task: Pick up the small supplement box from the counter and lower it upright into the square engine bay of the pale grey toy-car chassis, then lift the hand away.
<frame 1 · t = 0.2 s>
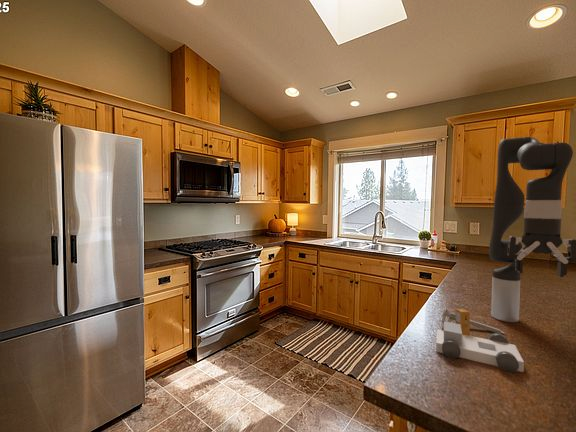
hand: (539, 274, 76), 29 cm above the countertop, tool pointing down, fingers open, 8 cm apart
supplement box: (462, 338, 98), on the countertop
chassis: (475, 352, 88), on the countertop
caliper: (472, 329, 106), on the countertop
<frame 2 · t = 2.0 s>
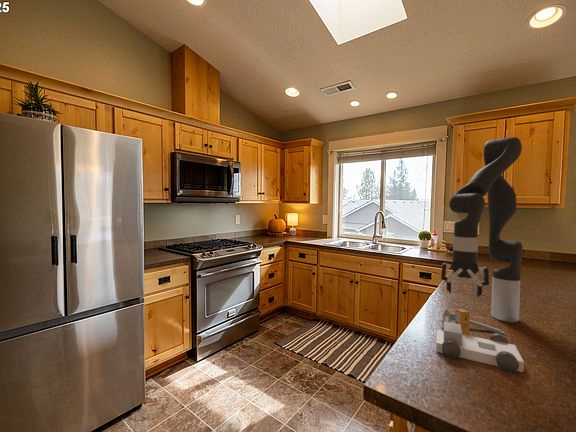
hand: (463, 294, 97), 16 cm above the countertop, tool pointing down, fingers open, 8 cm apart
nothing on the countertop moved.
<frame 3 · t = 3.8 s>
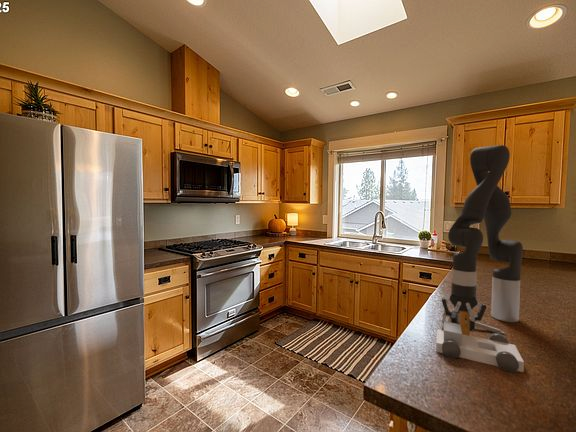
hand: (462, 328, 98), 3 cm above the countertop, tool pointing down, fingers closed on supplement box, 4 cm apart
supplement box: (462, 338, 98), on the countertop, touching gripper
everything else where it was.
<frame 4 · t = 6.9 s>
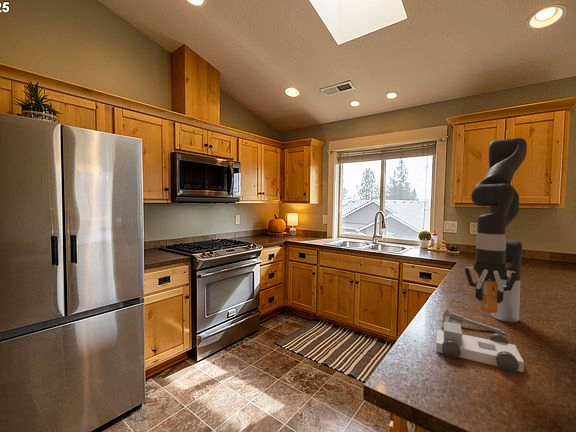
hand: (488, 300, 86), 18 cm above the countertop, tool pointing down, fingers closed on supplement box, 4 cm apart
supplement box: (488, 311, 86), point 14 cm above the countertop, touching gripper
everything else where it was.
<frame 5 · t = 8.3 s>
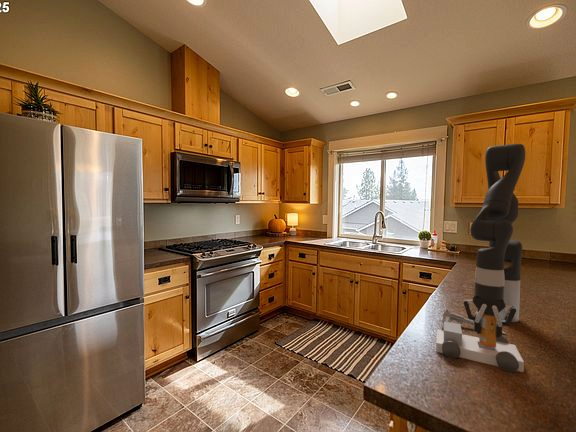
hand: (487, 334, 86), 7 cm above the countertop, tool pointing down, fingers closed on supplement box, 4 cm apart
supplement box: (486, 345, 86), point 3 cm above the countertop, touching gripper
everything else where it was.
when the fingers open (4 cm above the countertop, at t = 9.6 s): supplement box stays where it is, resting in chassis.
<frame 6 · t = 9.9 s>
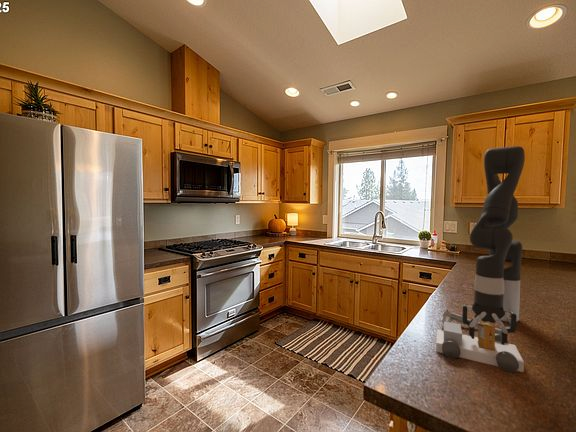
hand: (487, 340, 86), 5 cm above the countertop, tool pointing down, fingers open, 7 cm apart
supplement box: (485, 355, 87), resting in chassis
everything else where it was.
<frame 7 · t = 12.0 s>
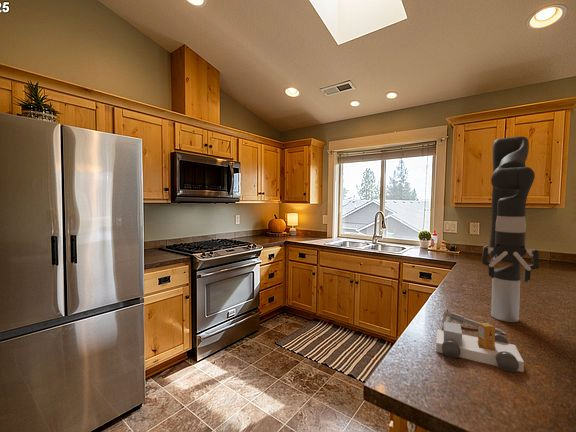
hand: (508, 279, 88), 24 cm above the countertop, tool pointing down, fingers open, 8 cm apart
nothing on the countertop moved.
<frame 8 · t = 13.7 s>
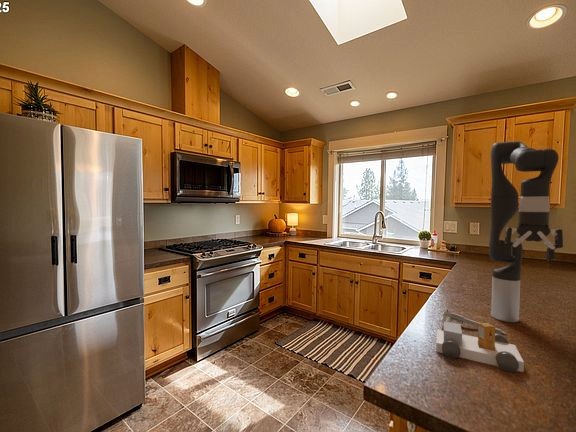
hand: (531, 259, 90), 30 cm above the countertop, tool pointing down, fingers open, 8 cm apart
nothing on the countertop moved.
at the end: supplement box 0.2 cm from the target spot on the chassis, point 0.0 cm above the chassis's base; supplement box tilted 0°; the gripper is holding nothing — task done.
